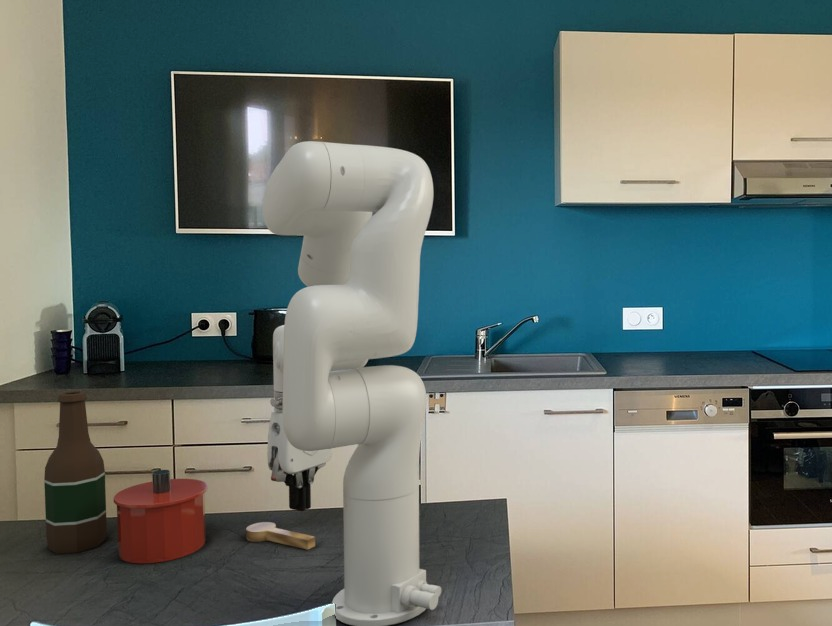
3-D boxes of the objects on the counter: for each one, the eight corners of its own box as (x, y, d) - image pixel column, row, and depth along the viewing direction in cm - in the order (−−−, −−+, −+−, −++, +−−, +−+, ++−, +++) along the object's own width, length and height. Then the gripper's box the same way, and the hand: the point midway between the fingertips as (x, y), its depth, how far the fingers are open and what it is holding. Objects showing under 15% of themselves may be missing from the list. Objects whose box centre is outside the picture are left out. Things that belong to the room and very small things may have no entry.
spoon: (322, 543, 122) (322, 533, 122) (300, 553, 118) (300, 543, 118) (262, 529, 128) (262, 520, 128) (240, 538, 124) (239, 529, 124)
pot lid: (225, 492, 122) (225, 466, 122) (150, 517, 111) (149, 489, 111) (171, 481, 128) (171, 456, 127) (94, 504, 116) (93, 477, 116)
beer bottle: (77, 557, 116) (71, 398, 115) (33, 552, 118) (27, 396, 116) (118, 537, 124) (114, 389, 122) (77, 533, 125) (72, 386, 124)
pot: (221, 541, 123) (220, 488, 122) (152, 569, 112) (151, 511, 112) (172, 529, 128) (171, 478, 127) (101, 555, 117) (99, 499, 117)
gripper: (279, 411, 119) (280, 527, 120) (348, 393, 132) (349, 498, 134) (244, 405, 122) (246, 519, 123) (315, 389, 136) (316, 492, 137)
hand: (300, 508), depth 129 cm, fingers closed
